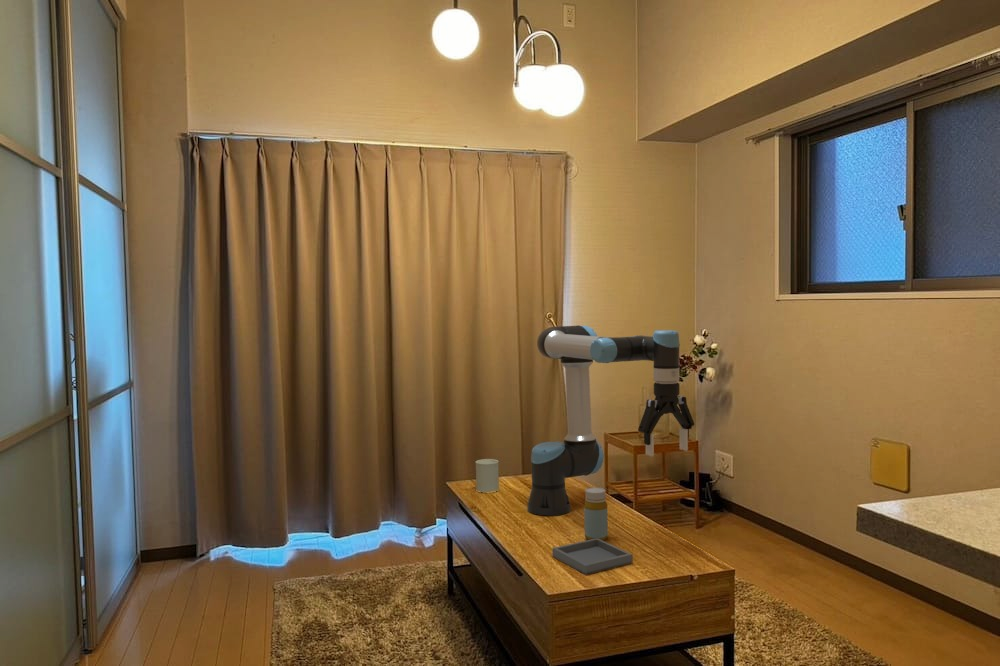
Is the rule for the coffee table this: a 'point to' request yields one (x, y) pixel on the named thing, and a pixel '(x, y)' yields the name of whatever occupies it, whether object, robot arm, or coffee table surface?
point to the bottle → (596, 514)
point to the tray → (592, 556)
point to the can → (487, 475)
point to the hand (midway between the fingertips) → (666, 452)
